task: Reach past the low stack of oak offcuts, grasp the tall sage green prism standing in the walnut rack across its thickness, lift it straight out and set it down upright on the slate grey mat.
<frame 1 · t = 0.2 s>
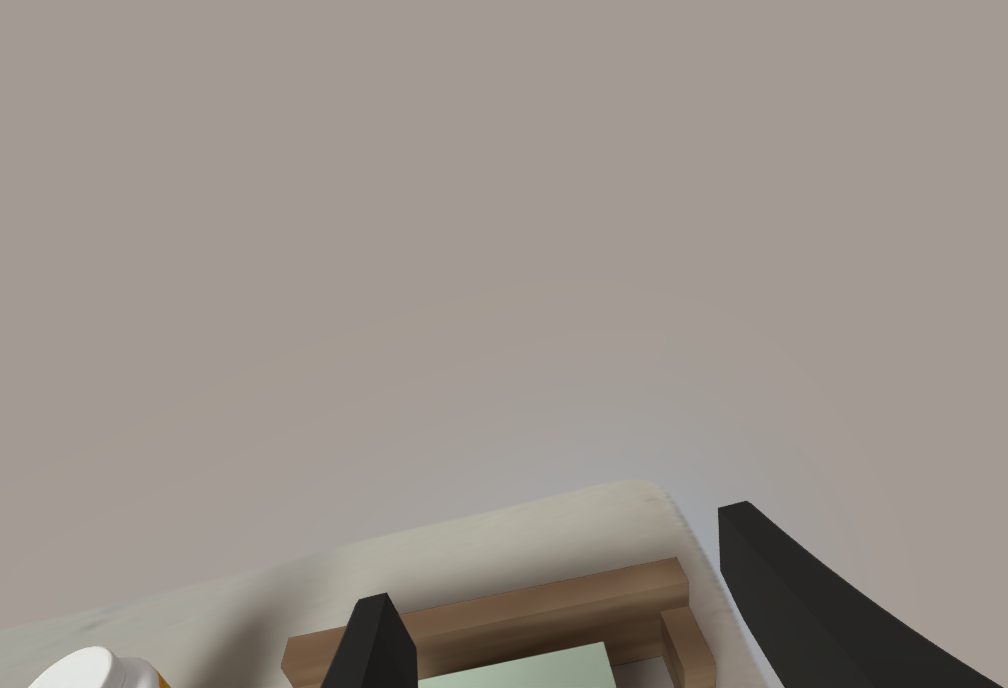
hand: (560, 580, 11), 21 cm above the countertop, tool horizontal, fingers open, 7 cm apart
walnut rack: (503, 674, 31), on the countertop
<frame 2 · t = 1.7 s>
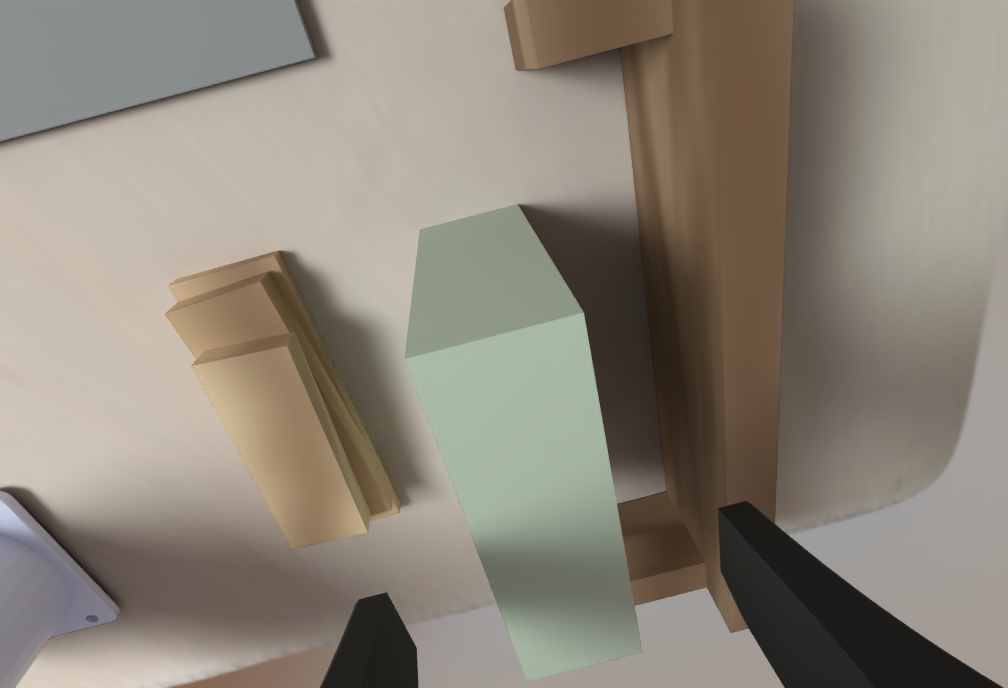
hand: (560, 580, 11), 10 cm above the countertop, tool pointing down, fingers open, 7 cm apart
walnut rack: (668, 312, 20), on the countertop
offcut stack: (306, 400, 20), on the countertop
tall sage green prism: (505, 353, 20), on the countertop
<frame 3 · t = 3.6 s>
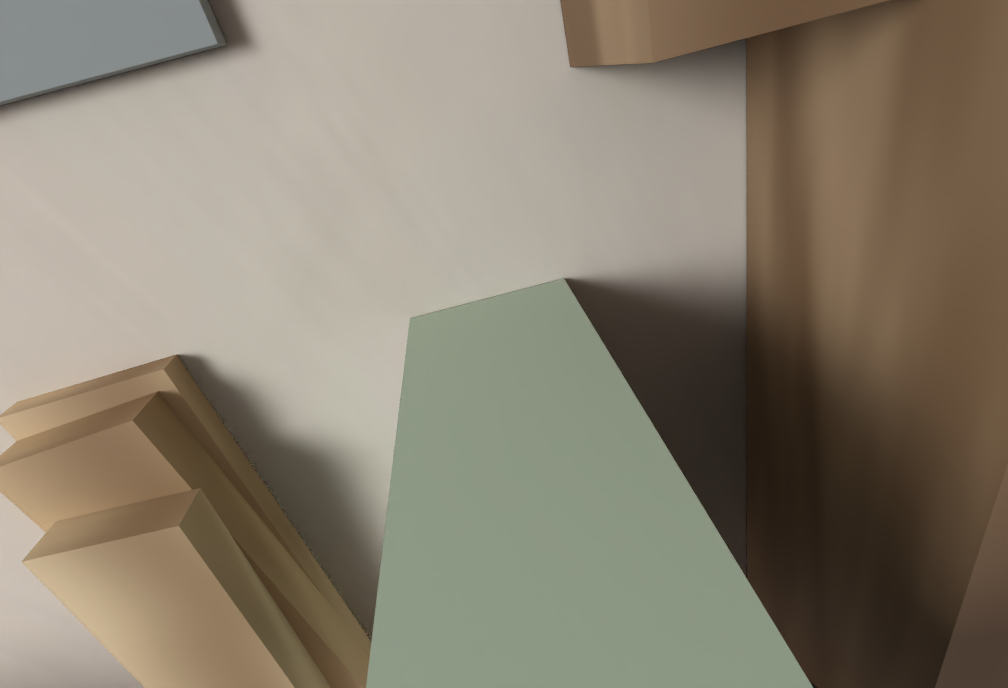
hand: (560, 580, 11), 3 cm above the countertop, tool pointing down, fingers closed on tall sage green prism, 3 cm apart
walnut rack: (776, 423, 14), on the countertop
offcut stack: (244, 547, 14), on the countertop
tall sage green prism: (537, 484, 14), on the countertop, touching gripper
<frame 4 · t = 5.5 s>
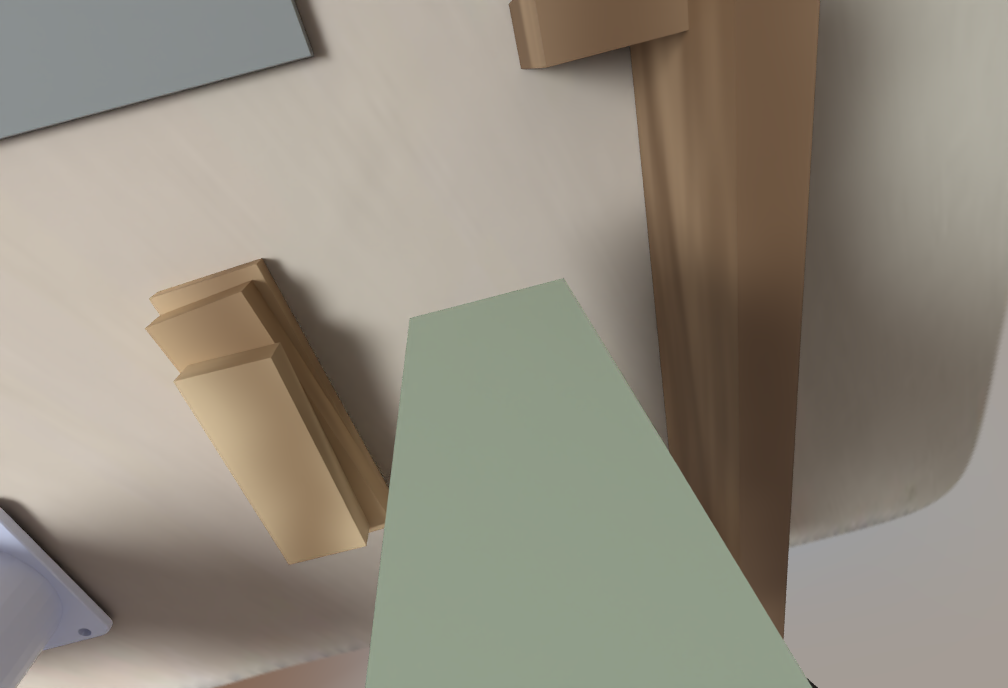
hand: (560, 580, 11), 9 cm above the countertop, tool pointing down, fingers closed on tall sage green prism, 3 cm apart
walnut rack: (677, 319, 19), on the countertop
offcut stack: (299, 411, 20), on the countertop
tall sage green prism: (536, 483, 14), point 6 cm above the countertop, touching gripper
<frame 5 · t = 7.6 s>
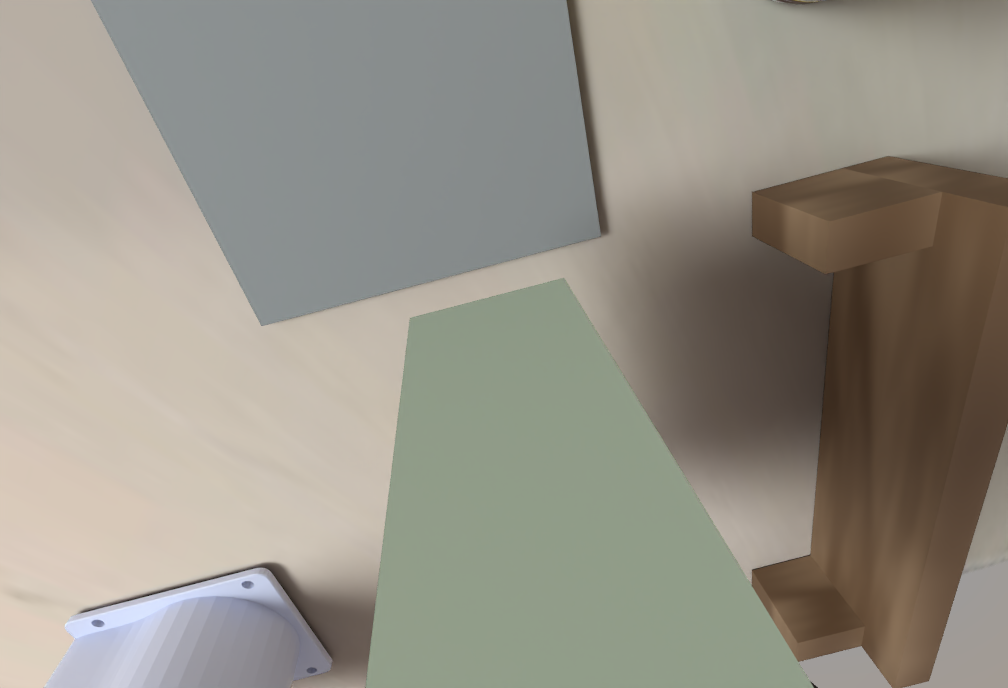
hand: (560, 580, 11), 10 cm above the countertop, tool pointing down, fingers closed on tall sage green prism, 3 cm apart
slate mat: (369, 90, 15), on the countertop
walnut rack: (839, 413, 23), on the countertop
tall sage green prism: (537, 483, 14), point 7 cm above the countertop, touching gripper
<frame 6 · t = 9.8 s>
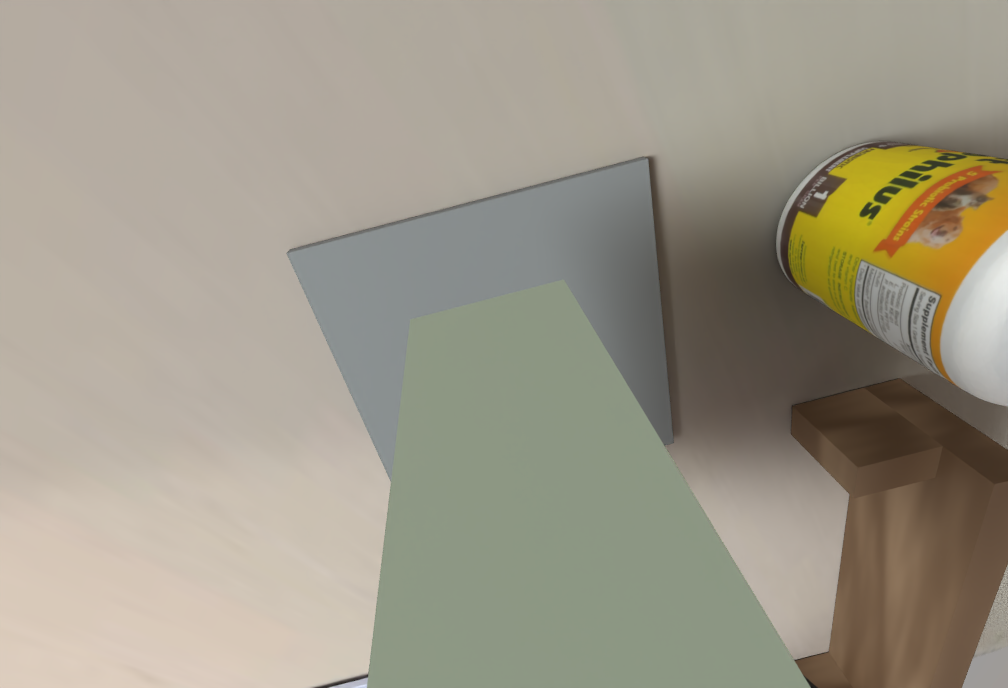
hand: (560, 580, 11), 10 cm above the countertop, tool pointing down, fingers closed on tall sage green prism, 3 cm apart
slate mat: (506, 356, 20), on the countertop
walnut rack: (856, 549, 28), on the countertop
supplement bottle: (837, 219, 19), on the countertop
tall sage green prism: (536, 484, 14), point 7 cm above the countertop, touching gripper
when the fingers open (4 cm above the countertop, at t = 11.8 s): tall sage green prism stays where it is, resting on slate mat.
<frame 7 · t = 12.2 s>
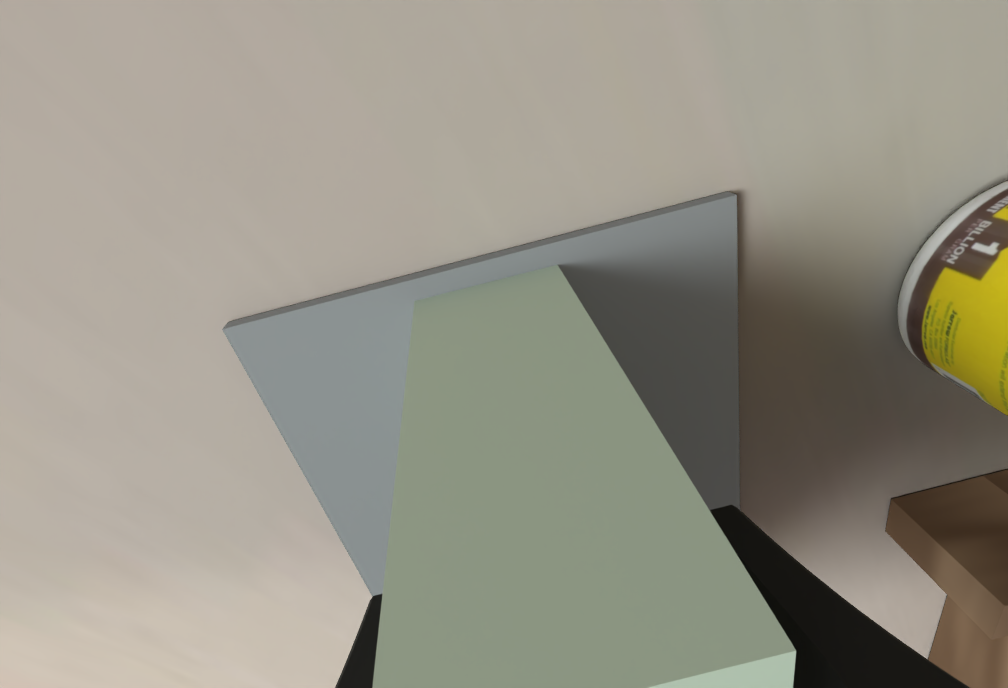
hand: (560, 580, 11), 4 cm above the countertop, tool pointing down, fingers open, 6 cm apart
slate mat: (529, 450, 15), on the countertop
walnut rack: (946, 652, 23), on the countertop
supplement bottle: (977, 270, 14), on the countertop
tall sage green prism: (532, 460, 14), resting on slate mat
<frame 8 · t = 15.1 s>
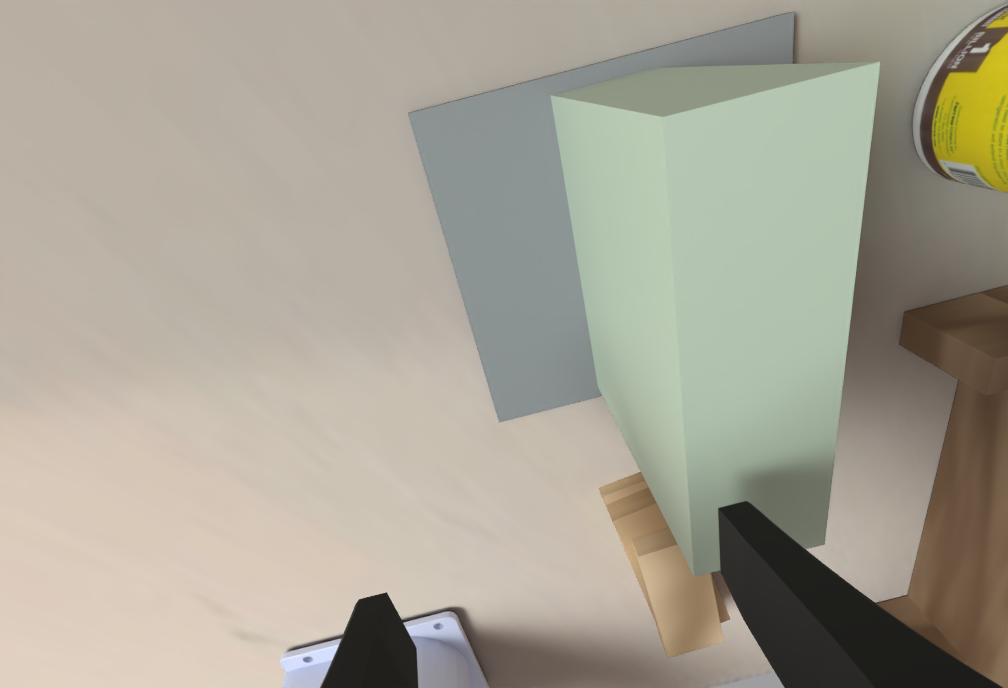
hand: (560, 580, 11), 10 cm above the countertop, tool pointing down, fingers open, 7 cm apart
slate mat: (619, 246, 19), on the countertop
walnut rack: (949, 479, 27), on the countertop
supplement bottle: (975, 95, 18), on the countertop
offcut stack: (660, 546, 27), on the countertop
tall sage green prism: (623, 250, 18), resting on slate mat
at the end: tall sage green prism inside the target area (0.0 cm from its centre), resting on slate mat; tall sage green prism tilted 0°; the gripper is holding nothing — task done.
